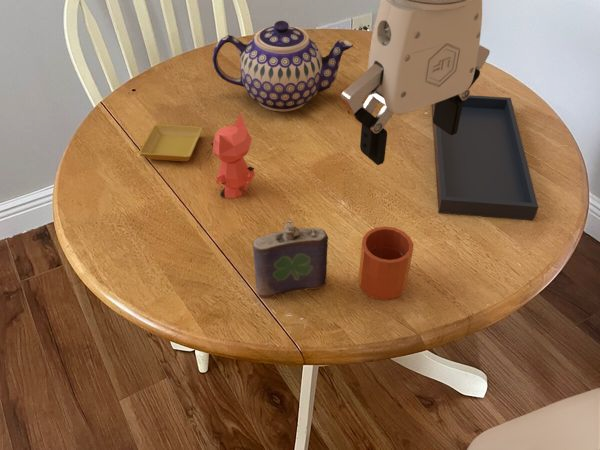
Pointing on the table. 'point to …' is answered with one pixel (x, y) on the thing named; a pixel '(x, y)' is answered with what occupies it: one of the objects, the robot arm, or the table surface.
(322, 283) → the flask
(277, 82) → the teapot
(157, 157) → the yellow square dish
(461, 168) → the tray
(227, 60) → the table surface
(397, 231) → the flower pot
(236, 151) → the cat figurine
